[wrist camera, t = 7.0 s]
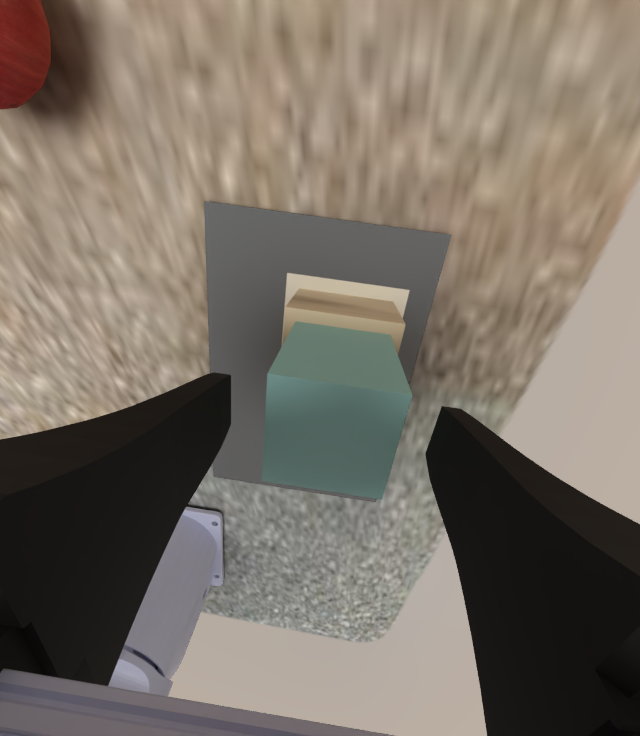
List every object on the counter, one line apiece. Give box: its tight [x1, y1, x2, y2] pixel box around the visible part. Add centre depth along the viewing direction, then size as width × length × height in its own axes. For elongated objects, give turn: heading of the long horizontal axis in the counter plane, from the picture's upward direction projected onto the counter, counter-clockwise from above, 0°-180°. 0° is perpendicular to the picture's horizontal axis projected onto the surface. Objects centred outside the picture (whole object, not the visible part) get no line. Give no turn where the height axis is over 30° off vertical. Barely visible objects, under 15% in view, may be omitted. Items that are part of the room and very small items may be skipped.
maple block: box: [282, 288, 406, 354], centre depth 16 cm, size 5×5×4 cm
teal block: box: [262, 321, 412, 500], centre depth 12 cm, size 4×4×5 cm
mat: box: [204, 201, 451, 502], centre depth 19 cm, size 18×12×1 cm, turn 173°
